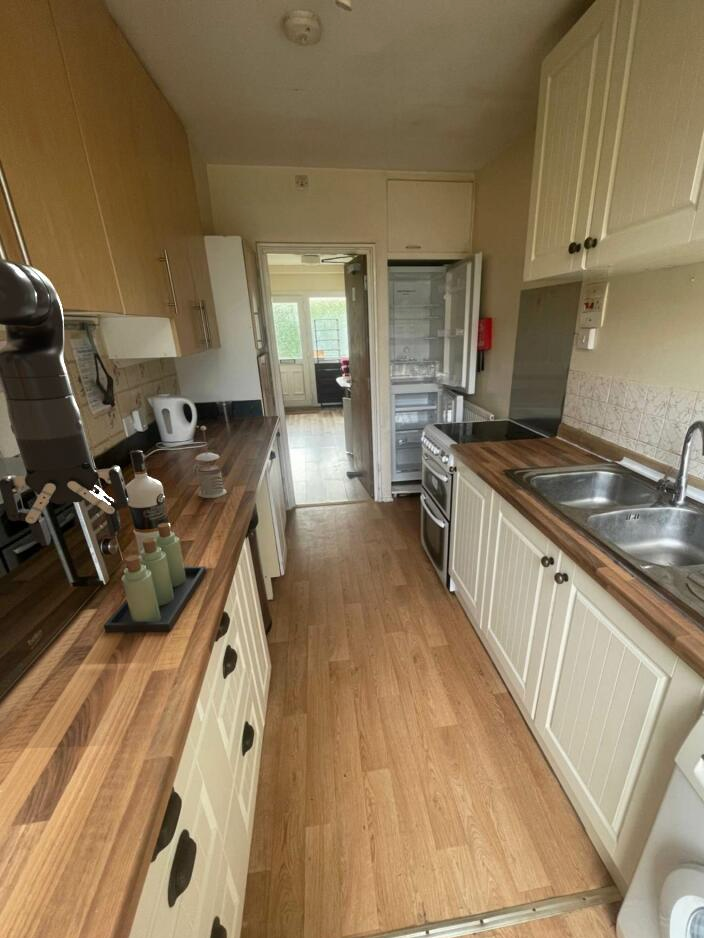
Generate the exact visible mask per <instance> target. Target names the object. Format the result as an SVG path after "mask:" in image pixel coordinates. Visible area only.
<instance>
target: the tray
mask: <svg viewBox="0 0 704 938" xmlns="http://www.w3.org/2000/svg"><path fill="white" fill-rule="evenodd" d="M206 568H207V567H206V566H203V565H202V566H184V569H185V575H186V581H185V582H184V583H183V584H181V585H178V586H175V587H172V588H173V593H174V599H173V600H172V601H171V602H169V603H167V604H165V605H161V606H159V610H160V615H161V619H160V621H159V622H132V618H131V615H130V611H129V607H128V603H127V599H126V598H125V599H124V601H123V602H122V603H121V604H120V605H119V607H118V608H117V609H116V610H115V611H114V612H113V614H112V615H111V616H110V617H109V618H108V620H107V621H106V622H105V623H104V624H103V628H104V631H105V633H106V634H115V633H116V634H117V633H122V634H123V633H169V632H171V631H172V630H173V628H174V626H175V625H176V623H177V621H178V620H179V618H180V617H181V615H182V614H183V611H185V608H186V607H187V605H188V604H189V602H190V601H191V598H192V597H193V595H194V594H195V592H196V591H197V589H198V588H199V586H200V584H201V583H202V580H203V579H204V577H205V576H206V574H207V569H206Z"/></svg>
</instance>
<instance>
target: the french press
mask: <svg viewBox="0 0 704 938" xmlns="http://www.w3.org/2000/svg"><path fill="white" fill-rule="evenodd" d="M199 430H200V431H202V432H203V433H205V431H206V430H207V427H206V426H205V425H202V426H200V429H199ZM205 435H206V434H203V438H204V440H206V436H205ZM204 444H205V447H207V443H206V441H204ZM205 451H206V452H203V453H200V454H198V455H197V456H196V457H195V460H196V461H197V462H201V464H198V463H196V464H195V465H194V467H193V469H192V477H193V480H194V481H195V482H196V483H197V484H199V489H200V491H199V493H198V496H199V497H201V498H204V499H205V498H206V499H212V498H219V497H222V496H224V495H226V494H227V490H226V489H225V488H224V484H223V476H222V475H223V474H222V470H221V469H220V466H219V465H216V464H214V465H213V464H212V465H210V463H209V462H212V461H213V462H214V461H217V460H218V459H220V456H219V454H218V453H213V452H208V449H207V448H205ZM202 462H203V463H205V462H207V465H203V464H202ZM196 466H197V469H196V473H195V468H196ZM195 475H196V478H195ZM196 480H197V481H196Z"/></svg>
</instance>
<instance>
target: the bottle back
mask: <svg viewBox="0 0 704 938" xmlns="http://www.w3.org/2000/svg"><path fill="white" fill-rule="evenodd" d="M169 523H170V522H169ZM169 523H161V524H159V525H158V531H159V534H157V536H156V538H157V540H155V541H156V546H157V547H160V548H161V551H162V552H165V554H166V558H167V563H168V568H169V573H170V578H171V583H172V587H175V586H178V585H181V584H183V583H184V582H185V581H186V575H185V569H184V567H185V563H184V559H183V554H182V548H181V543H180V537H178V536H176V535H175V532H174V531H170V530H171V525H170V526H169Z"/></svg>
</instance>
